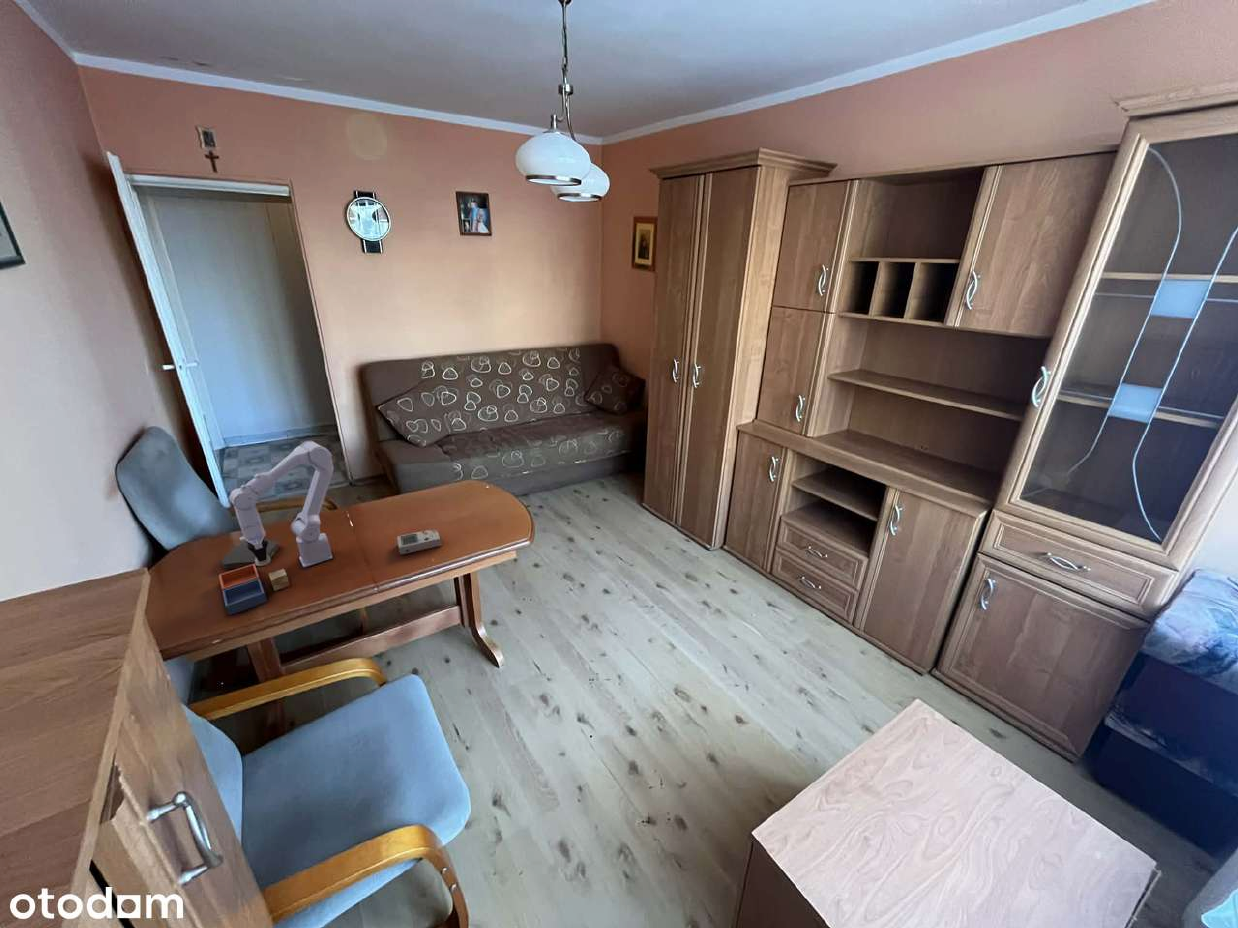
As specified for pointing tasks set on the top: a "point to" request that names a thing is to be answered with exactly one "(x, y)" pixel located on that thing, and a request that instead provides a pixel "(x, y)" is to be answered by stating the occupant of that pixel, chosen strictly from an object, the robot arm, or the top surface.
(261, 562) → the rook chess piece
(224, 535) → the top surface
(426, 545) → the handheld gaming device
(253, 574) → the terracotta bin
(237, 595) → the blue bin
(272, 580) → the beech block
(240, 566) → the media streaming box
